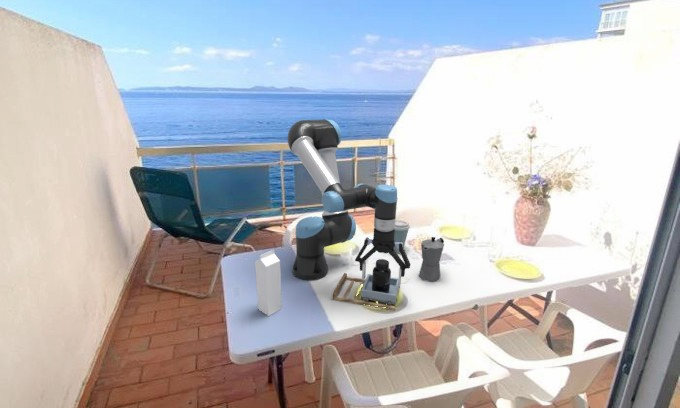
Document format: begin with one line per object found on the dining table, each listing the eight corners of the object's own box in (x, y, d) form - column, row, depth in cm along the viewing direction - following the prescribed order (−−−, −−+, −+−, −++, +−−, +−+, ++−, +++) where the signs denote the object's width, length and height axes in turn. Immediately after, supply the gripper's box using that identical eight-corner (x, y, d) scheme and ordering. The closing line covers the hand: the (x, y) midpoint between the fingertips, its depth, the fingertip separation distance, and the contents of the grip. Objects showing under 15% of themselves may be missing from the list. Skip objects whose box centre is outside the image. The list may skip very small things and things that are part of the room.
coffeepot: (431, 286, 138) (435, 245, 133) (411, 278, 144) (414, 238, 139) (449, 273, 149) (454, 234, 143) (430, 266, 155) (433, 228, 150)
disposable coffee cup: (382, 247, 173) (383, 219, 169) (401, 245, 177) (403, 217, 172) (391, 256, 164) (393, 226, 159) (411, 253, 167) (414, 224, 162)
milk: (282, 308, 122) (280, 252, 116) (268, 316, 118) (266, 258, 111) (270, 302, 126) (268, 246, 119) (257, 309, 121) (254, 252, 115)
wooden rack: (332, 299, 128) (332, 294, 127) (344, 278, 143) (344, 273, 143) (394, 310, 122) (395, 304, 121) (400, 286, 137) (400, 281, 137)
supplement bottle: (389, 296, 127) (391, 267, 123) (370, 294, 128) (372, 265, 125) (390, 286, 133) (392, 258, 130) (372, 284, 135) (374, 256, 131)
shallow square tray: (360, 301, 126) (360, 291, 125) (367, 282, 139) (368, 273, 138) (394, 307, 123) (395, 296, 122) (399, 287, 136) (399, 277, 135)
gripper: (348, 227, 123) (346, 280, 129) (419, 236, 117) (414, 291, 123) (353, 221, 130) (351, 271, 136) (420, 228, 123) (415, 281, 130)
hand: (381, 281), depth 130 cm, fingers open, 13 cm apart
